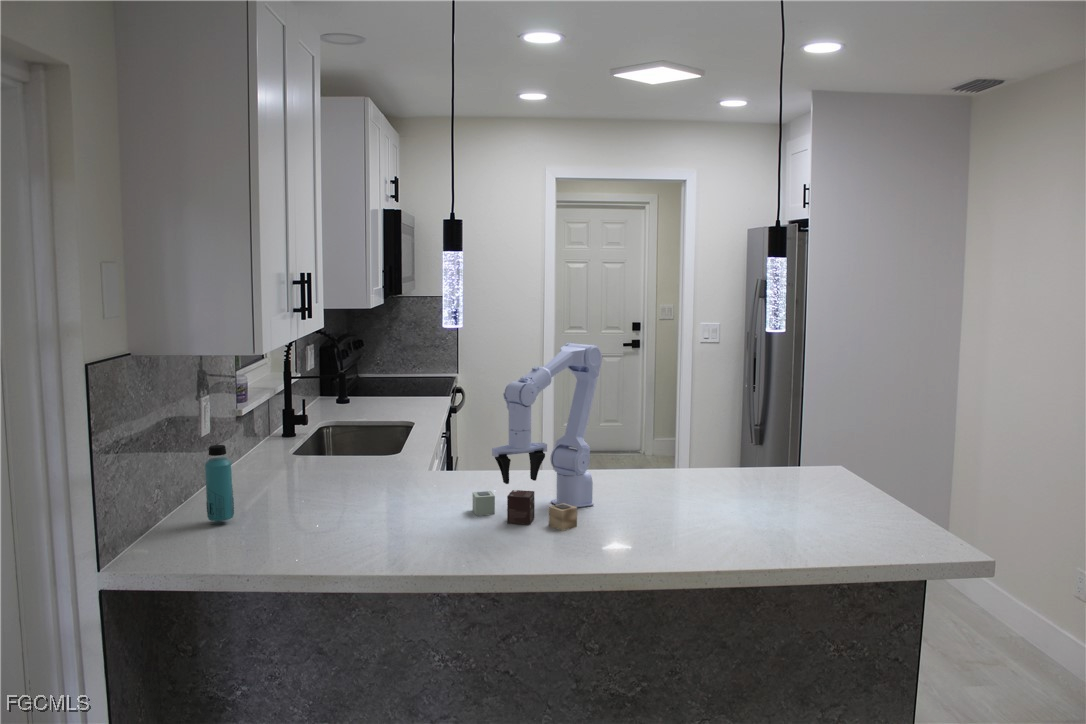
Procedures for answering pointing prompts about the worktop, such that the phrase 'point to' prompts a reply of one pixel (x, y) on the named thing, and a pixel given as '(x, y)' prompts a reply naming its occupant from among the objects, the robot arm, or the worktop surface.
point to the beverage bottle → (219, 485)
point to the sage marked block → (483, 503)
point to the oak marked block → (563, 516)
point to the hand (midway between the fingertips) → (519, 481)
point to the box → (520, 507)
